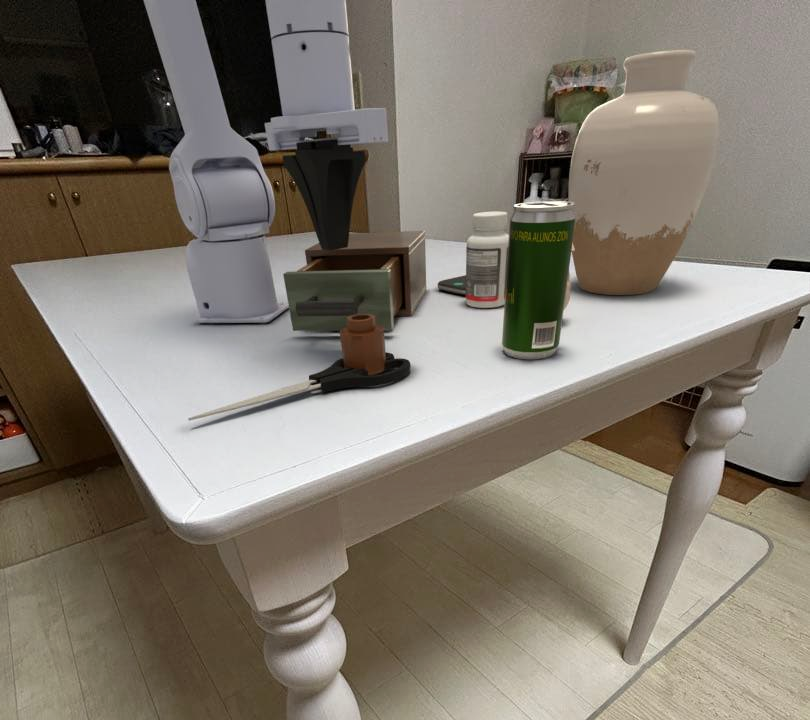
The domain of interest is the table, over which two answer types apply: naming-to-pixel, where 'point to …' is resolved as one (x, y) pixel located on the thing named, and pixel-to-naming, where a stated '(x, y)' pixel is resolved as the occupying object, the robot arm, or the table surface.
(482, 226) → the pill bottle
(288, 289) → the drawer
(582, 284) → the vase
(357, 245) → the cabinet
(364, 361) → the spice bottle
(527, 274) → the beer can
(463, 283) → the smartphone
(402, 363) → the scissors
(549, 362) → the table surface
